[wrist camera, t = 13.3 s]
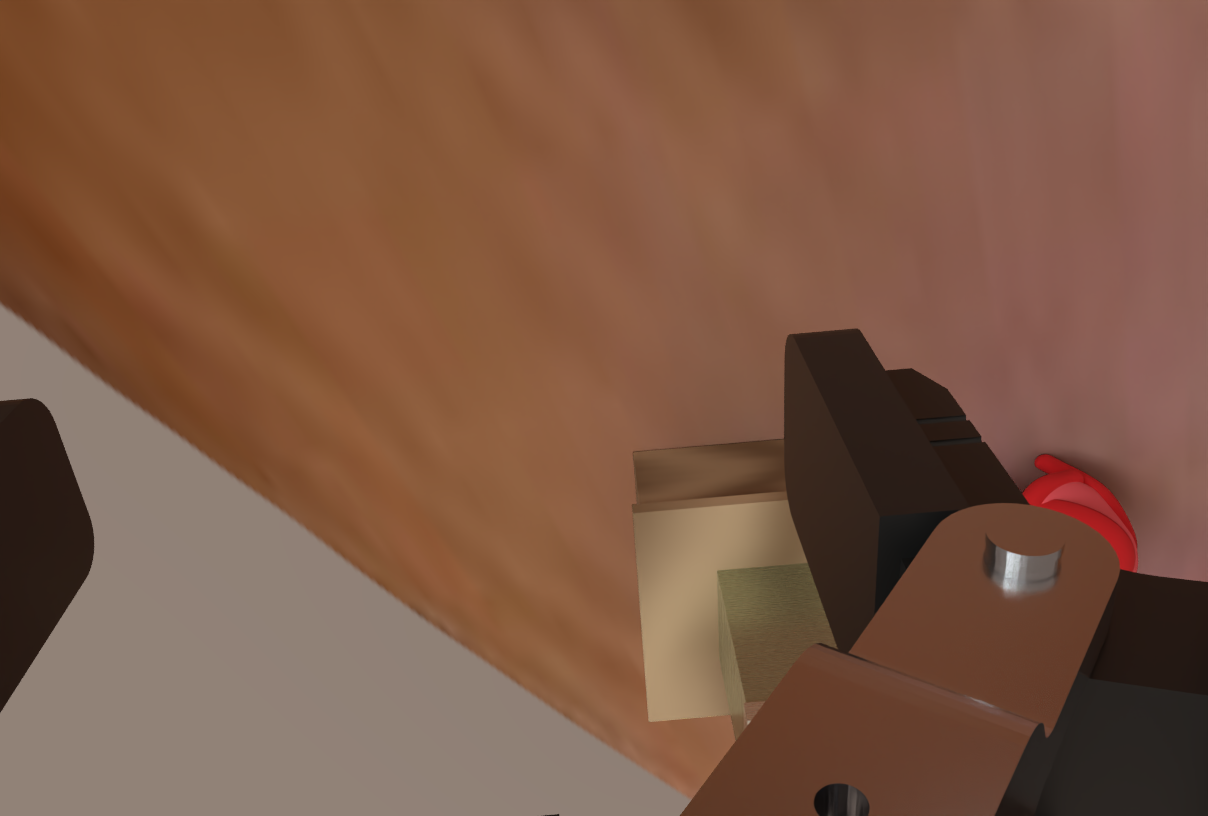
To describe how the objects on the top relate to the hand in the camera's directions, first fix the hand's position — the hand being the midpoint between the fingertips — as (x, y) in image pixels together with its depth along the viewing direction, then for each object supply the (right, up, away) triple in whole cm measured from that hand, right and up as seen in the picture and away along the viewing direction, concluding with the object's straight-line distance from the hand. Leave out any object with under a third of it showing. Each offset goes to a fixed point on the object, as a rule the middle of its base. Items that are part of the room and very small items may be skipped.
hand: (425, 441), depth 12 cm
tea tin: (+9, -8, +31) cm, 33 cm away
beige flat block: (+9, -5, +35) cm, 37 cm away
